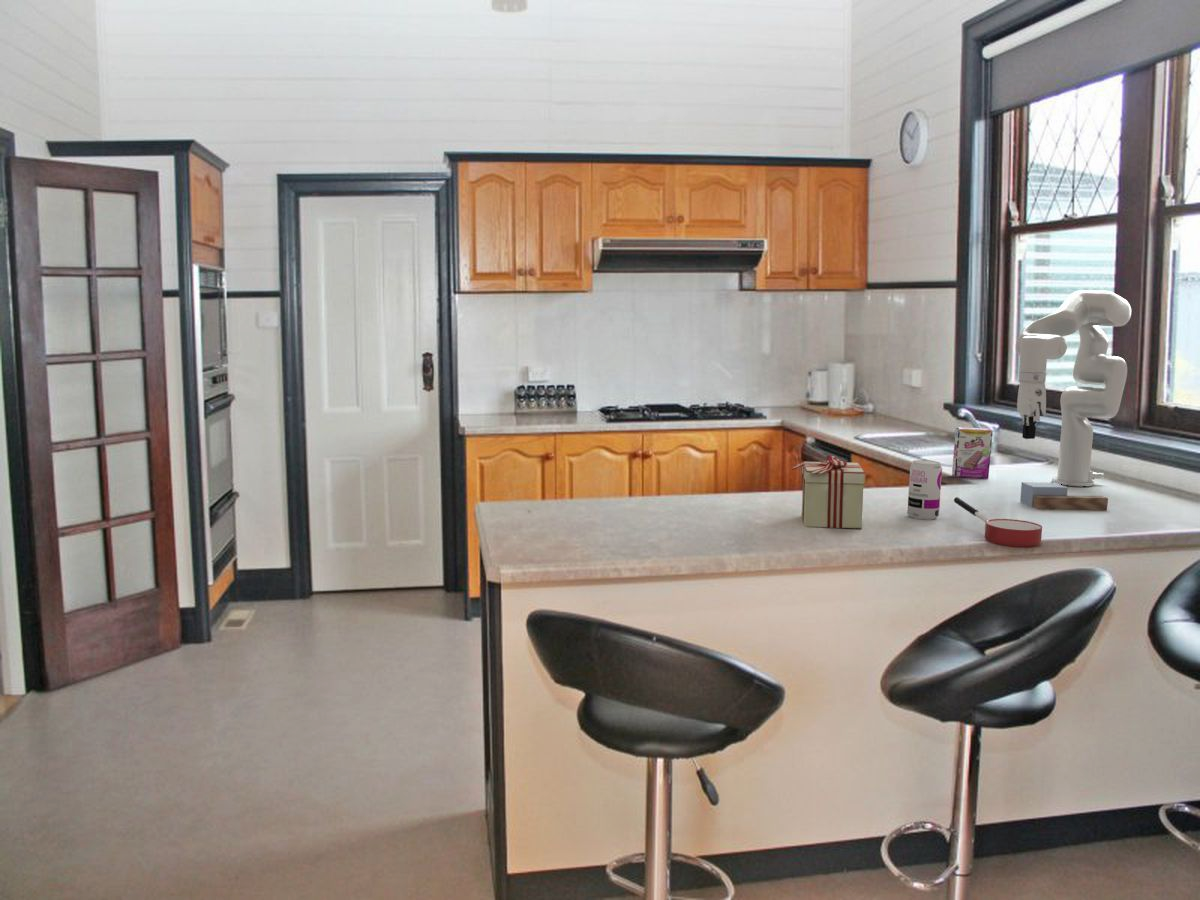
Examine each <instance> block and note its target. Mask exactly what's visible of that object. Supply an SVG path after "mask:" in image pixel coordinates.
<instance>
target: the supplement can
mask: <svg viewBox="0 0 1200 900" xmlns="http://www.w3.org/2000/svg"><path fill="white" fill-rule="evenodd" d="M909 468H910V469H909V479H908V480H909V483H908V497H907V498H908V499H907V513H906V514H907V515H908V517H910V518H911V519H916V520H923V521H928V520H930V521H931V520H936V519H937V518H938V517H939V516H940V503H941V487H942V477H943V476H942V475H943V467H942V466H941V462H939V461H935V460H927V459H926V460H925V459H924V460H923V459H921V460H919V459H917V460H913V461H912V463H911V464H910V466H909Z"/></svg>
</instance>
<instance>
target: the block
mask: <svg viewBox="0 0 1200 900" xmlns="http://www.w3.org/2000/svg"><path fill="white" fill-rule="evenodd" d="M1068 489H1069V486H1068V487H1067V486H1066V485H1061V484H1057V483H1053V482H1038V481H1036V482H1035V481H1030V482H1029V481H1027V482H1026V481H1025V482H1023V481H1021V487H1020V498H1019V499H1020V500H1019V501H1021V502H1020V503H1022V502H1023V503H1022V504H1024V503H1025V505H1026V504H1027V505H1026V506H1029V507H1031V506H1032V507H1031V508H1034V507H1033V501H1034V495H1068Z"/></svg>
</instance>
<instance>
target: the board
mask: <svg viewBox="0 0 1200 900" xmlns="http://www.w3.org/2000/svg"><path fill="white" fill-rule="evenodd" d="M1108 501H1109V498H1108V497H1106V496H1103V495H1070V494H1069V495H1068V494H1067V495H1034V501H1033V507H1032V508H1035V509H1037V510H1045V509H1049V510H1053V511H1054V510H1055V509H1062V510H1061V511H1063V510H1064V511H1067V510H1068V511H1108V503H1109V502H1108ZM1049 510H1048V511H1049ZM1045 511H1046V510H1045ZM1055 511H1056V510H1055Z"/></svg>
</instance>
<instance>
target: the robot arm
mask: <svg viewBox="0 0 1200 900" xmlns="http://www.w3.org/2000/svg"><path fill="white" fill-rule="evenodd" d="M1131 316H1132V308H1131V305H1130V303H1129V302H1128V300H1127V299H1125V298H1123V297H1122V296H1120V295H1119V294H1116V293H1114V292H1112V291H1109V290H1091V289H1089V290H1087V289H1086V290H1085V289H1082V290H1076V291H1074V292H1072V293H1071V294H1070V295H1069V296H1068V297H1067V299H1065V300H1064V301H1063V303H1062V304H1061V305H1060V306H1059V308H1058V309H1057V310H1056V311H1055V312H1053V313H1051V314H1048V315H1046V316H1043V317H1041V318H1039V319H1037V320H1036V319H1035V321H1033V322H1031V323H1029V324H1028V325H1027V326H1026V327H1025V328H1024V329H1023V330H1022V332H1021V333H1020V334H1019V335H1018V338H1017V339H1016V343H1015V352H1016V353H1017V354H1018V356H1019V368H1018V383H1019V386H1018V390H1017V391H1018V392H1017V400H1016V401H1017V402H1016V409H1017V412H1018V413H1019V416H1020V417H1021V419H1022V439H1025V440H1029V439H1030V440H1034V439H1035V438H1036V429H1037V423H1038V422H1040V420H1041V417H1045V416H1046V414H1047V391H1046V390H1047V389H1046V380H1047V379H1046V378H1047V377H1046V376H1047V363H1048V362H1047V361H1048V360H1053V361H1054V360H1058V359H1061V358H1062V357H1063V356H1064V355H1065V354H1066V352H1067V349H1068V344H1067V341H1066V339H1065V338H1064V337H1066V336H1070V335H1073V334H1074V333H1077V331H1078V334H1079V344H1078V345H1079V346H1078V349H1077V351H1076V352H1077V353H1076V358H1075V360H1074V365H1073V369H1072V378H1073V380H1074V381H1075V382H1076V383H1079V384H1083V385H1093V387H1092V386H1081V385H1080V386H1079V385H1076V386H1070V387H1069V386H1068V387H1067V388H1065V389H1064V390H1063V391H1062V392H1061V396H1060V399H1059V400H1060V412H1061V426H1060V427H1061V429H1060V441H1059V453H1058V467H1057V476H1055V477H1052V478H1051V483H1057V484H1060V485H1061V484H1062V485H1063V486H1067V485H1068V487H1069V486H1070V487H1083V486H1086V487H1093V486H1094V485H1095V481H1093V480H1095V479H1098V480H1104V479H1105V473H1104V472H1095V471H1094V470H1091V461H1092V450H1093V449H1092V448H1093V440H1094V439H1093V437H1094V429H1093V426H1092V423H1091V422H1090V421H1089V418H1093V419H1095V418H1096V419H1105V420H1107V419H1108V420H1109V419H1110V420H1111V419H1112V418H1115V416H1116V415H1117V414H1118V413H1119V410H1120V406H1121V402H1122V398H1123V394H1124V391H1125V385H1126V383H1127V378H1128V377H1127V376H1128V365H1127V362H1126V361H1125V359H1124V358H1122V357H1120V356H1115V355H1113V356H1112V355H1107V354H1108V353H1107V352H1108V348H1109V339H1108V337H1107V335H1106V334H1105V332H1104V331H1103V330H1102V328H1101V327H1116V328H1117V327H1124V326H1125V325H1127V323H1129V321H1130V319H1131ZM1094 386H1104V388H1101V387H1094Z"/></svg>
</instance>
